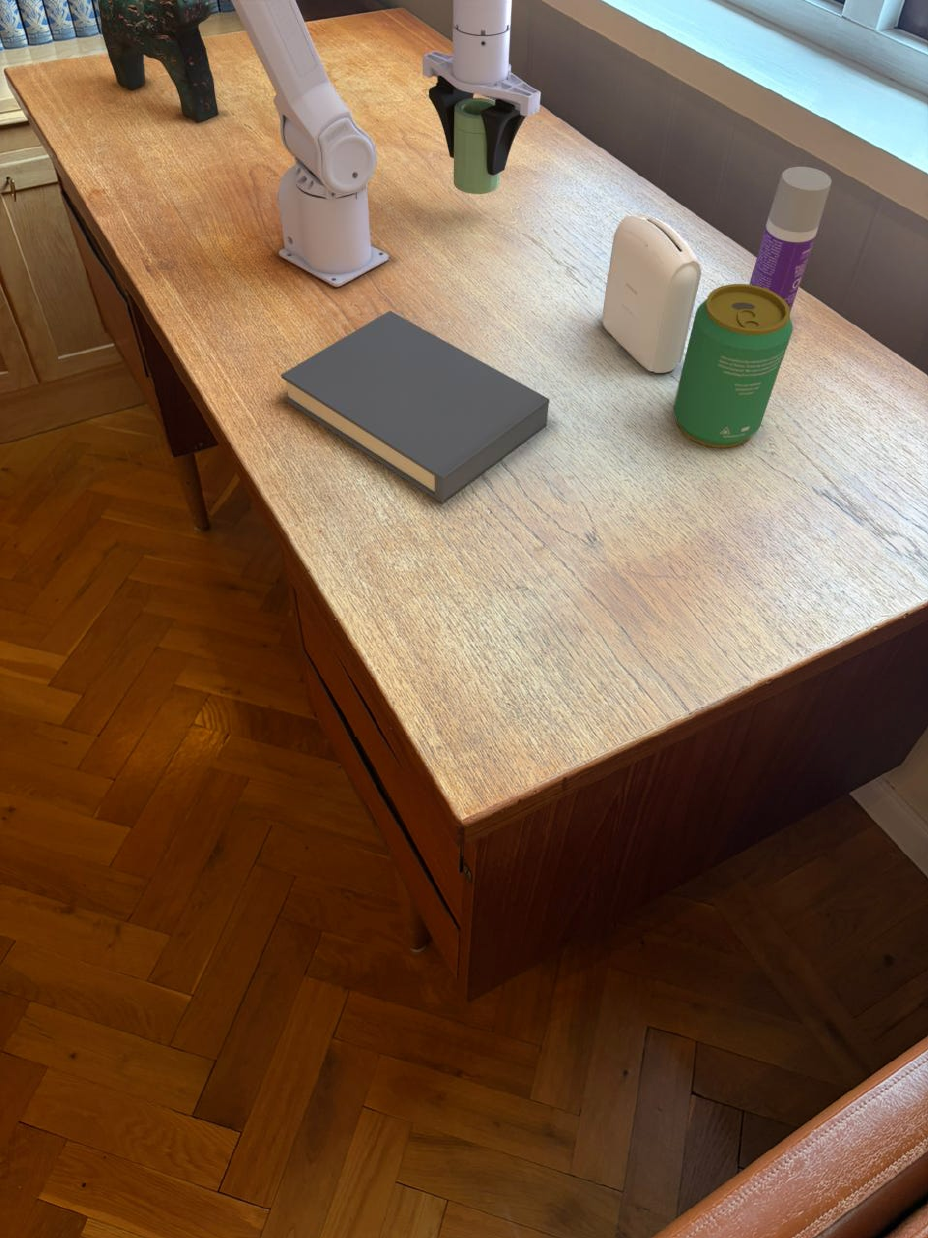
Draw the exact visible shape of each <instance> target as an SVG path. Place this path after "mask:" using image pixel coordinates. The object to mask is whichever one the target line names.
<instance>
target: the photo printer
mask: <svg viewBox="0 0 928 1238" xmlns="http://www.w3.org/2000/svg"><path fill="white" fill-rule="evenodd" d="M701 276H702V268H701V263H700V261H699V259H698V258H697V256H696V254H695V253H694V250H692V248H691V246H690V245H689V244H688V242H687V241H686V240H685V239H684V238H683V237H682V236H681V234H679V233H678V232H677V231H676V230H675V229H674V228H673V227H672V226H670V225H669V224H667V223H666V222H665V221H663V220H661V219H659V217H658V218H657V217H655V216H653V215H650V214H647V213H644V212H643V213H641V212H636V213H634V214H628V215H626V216H625V217H624V218H622V219H621V221H620V222H619V224H618V225H617V227H616V229H615V231H614V233H613V238H612V245H611V253H610V258H609V265H608V273H607V280H606V286H605V294H604V300H603V309H602V318H601V320H602V321H601V322H602V325H603V326H604V328H605V330H606V331H607V332H608V333H609V334H610V335H611V336H612V338H614V339H615V341H616V342H617V343H618V344H619V345H620V346H621V347H622V348H623V349H624V350H625V351H626V352H627V353H628V354H630V355H631V357H633V358H634V359H635V360H636V361H637V362H638V363H639V364H640V365H641V366H642V367H644V368H645V369H646V370H647V371H649V372H653V373H655V374H664V373H668V372H671V371H674V370H675V369H676V368H677V366H678V364H680V363H681V362H682V360H683V357H684V352H685V347H686V343H687V339H688V334H689V330H690V325H691V321H692V316H693V311H694V308H695V303H696V298H697V295H698V290H699V285H700V281H701Z"/></svg>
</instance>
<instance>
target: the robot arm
mask: <svg viewBox="0 0 928 1238" xmlns="http://www.w3.org/2000/svg"><path fill="white" fill-rule="evenodd" d="M452 1H453V2H452V11H453V12H452V54H448V53H444V52H441V51H437V50H433V51H431V52H429V53H426V54H423V55H422V76H424V77H426V78H428V79H429V78H433V77H435V78H437V79H436V80H437V82H435V86H432V87H430V88H429V89H428V98H429V100H430V102H431V103H432V105H433V107H434V109H435V110H436V113H437V116H438V118H439V121H440V123H441V126H442V130H443V133H444V138H445V141H446V142H445V143H446V146H447V151H448V154H449V157H450V158H452V159H454V107H455V105H456V104H457V103H458V102H460V101H462V100H465V99H470V98H474V96H475V95H480V96H483V97H484V98H486V99H490V100H493V101H495V106H494V105H493V106H490V107H488V108H486V109H484V110H482V111H481V117H482V120H483V123H484V127H485V132H486V139H487V170H488V174H490V175H492V176H494V175H496V174H498V173H500V174H501V173H502V172H504V171H505V170H506V166H507V162H508V159H509V155H510V153H511V152H510V151H511V149H512V146H513V143H514V141H515V139H516V136H517V134H518V133H519V129H520V128H521V126H522V124H523V122H524V121H525V119H526V118H528V117H530V116H533V115H535V114H536V113H539V112H540V105H541V95H542V93H541V91H540V90H538V89H536V88H534V87H531V86H530V85H529V84H527V82H525V81H523V79H521V78H519V77H518V76H517V75H515V73H513V72H512V65H511V63H509V62H510V44H511V42H510V41H511V24H512V7H513V0H452ZM230 2H231V4H232V6H233V8H234V9H235V11H236V14H237V16H238V18H239V20H240V22H241V24H242V26H243V28H244V31H245V32H246V35H247V37H248V39H249V40H250V42H251V45H252V46H253V49H254V50H255V53H256V55H257V58H258V59H259V61H260V63H261V65H262V67H263V70H264V71H265V74H266V75H267V78H268V80H269V82H270V84H271V86H272V88H273V90H274V92H275V96H273V100H272V101H273V105H274V106H275V108H276V111H277V113H278V116H279V117H278V118H279V126H280V127H279V130H280V131H279V132H280V138H281V141H282V144H283V145H284V147H285V149H286V150H287V152H289V154H291V156H293V157H294V163H295V164H294V165H292V166H290V167H289V168H288V169H287V170H286V171H285V172H284V174H283V175H282V178H281V179H280V182H279V185H278V190H277V204H278V211H279V218H280V225H281V232H282V239H283V247H284V248H281V249H280V250H279V251H278V255H279V256H280V257H281V258H283V259H285V260H286V261H288V262H289V263H291V264H294V265H295V266H297V267H299V268H300V269H302V270H303V271H306V272H307V273H310V274H311V275H313V276H315V277H317V278H318V279H319V280H322V281H324V282H325V283H327V284H329V285H331V286H332V287H335V288H339V287H342V286H343V285H345V284H347V283H349V282H351V281H353V280H354V279H356V278H358V277H360V276H362V275H363V274H365V273H367V272H369V271H370V270H372V269H374V268H376V267H378V266H379V265H382V264H383V263H385V262H387V261H388V260H389V258H390V255H389V254H388V253H387V252H384V251H382V250H380V249H378V248H377V247H374V246H372V241H371V226H370V211H369V210H370V209H369V195H368V183H369V182H370V180H371V179H372V177H373V175H374V173H375V170H376V167H377V160H378V154H377V148H376V144H375V142H374V141H373V139H372V137H371V136H370V134H369V133H367V132H366V131H365V130H364V129H362V128H360V126H359V125H358V124H357V122H356V121H355V119H354V117H353V115H352V112H351V110H350V108H349V107H348V106H347V104H346V103H345V101H344V99H343V98H342V96H341V95H340V94H339V92H338V91H337V89H336V88H335V87H334V85H333V83H332V82H331V80H330V78H329V76H328V74H327V72H326V69H325V66H324V64H323V61H322V60H321V57H320V56H319V53H318V49H317V48H316V46H315V42H314V41H313V38H312V36H311V34H310V32H309V29H308V27H307V24H306V22H305V20H304V18H303V15H302V13H301V11H300V8H299V6H298V4H297V2H296V0H230Z"/></svg>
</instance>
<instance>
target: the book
mask: <svg viewBox="0 0 928 1238" xmlns="http://www.w3.org/2000/svg"><path fill="white" fill-rule="evenodd" d="M280 376H281V377H280V378H281V379H282V380H284V381H286V382H285V383H286V389H287V390H286V391H287V396H285V397H284V401H285V402H286V403H287V404H289V405H290V406H292V407H293V408H295V409H297V410H298V411H300V412H301V413H303V414H304V415H306V416H307V417H309V418H310V419H312V420H314V421H315V422H317V423H318V424H320V425H321V426H322V427H324V428H326V429H327V430H328V431H330V432H332V433H333V434H335V435H337V436H338V437H340V438H341V439H343V440H344V441H345V442H347V443H349V444H350V445H352V446H353V447H355V448H356V449H358V450H360V451H361V452H362V453H364V454H366V455H367V456H369V457H370V458H372V459H373V460H374V461H375V462H377V463H379V464H380V465H382V466H383V467H385V468H387V469H388V470H390V471H392V472H393V473H395V474H396V475H398V476H399V477H400V478H402V479H404V480H405V481H407V482H408V483H410V484H411V485H413V486H414V487H416V488H417V489H419V490H420V491H422V492H424V493H425V494H426V495H429V496H430V497H431V498H433V499H435V500H436V501H437V502H439V503H440V504H442V505H444V504H445V503H447V502H448V501H449V500H451V499H452V498H454V496H455V495H457V494H459V493H460V492H461V491H463V490H464V489H465V488H466V487H468V486H469V485H470V484H472V483H473V482H474V481H476V480H477V479H478V478H480V477H481V476H482V475H483V474H485V473H486V472H487V471H489V470H490V469H491V468H493V467H494V466H496V464H498V463H500V461H502V460H503V459H505V458H506V457H507V456H509V455H510V454H512V452H514V451H515V450H516V449H518V448H519V447H521V446H522V445H523V444H524V443H526V442H527V441H528V440H530V439H531V438H533V436H535V435H536V434H538V433H539V432H540V431H542V430H543V429H544V428H546V427H547V426H548V415H549V414H548V413H549V406H550V400H551V399H550V398H548V397H546V396H545V395H543V394H541V393H539V392H537V391H536V390H534V389H533V388H530V387H528V386H527V385H525V384H523V383H521V382H519V381H518V380H516V379H514V378H513V377H511V376H509V375H507V374H505V373H503V372H501V371H500V370H498V369H496V368H495V367H493V366H492V365H491V366H490V365H489V364H487V363H485V362H483V361H482V360H480V359H478V358H476V357H475V356H472V354H469V353H468V352H466V351H464V350H462V349H460V348H459V347H456V346H455V345H453V344H451V343H449V341H448V342H447V341H446V340H444V339H443V338H441V337H439V336H437V335H435V334H433V333H431V332H430V331H428V330H426V329H424V328H422V327H421V326H419V325H417V324H415V323H414V322H411V321H410V320H408V319H406V318H404V317H403V316H401V315H399V314H397V313H396V312H393V311H392V310H388V311H387V312H385V313H383V314H381V315H380V316H378V317H377V318H375V319H373V320H371V321H369V322H368V323H366V324H365V325H363V326H361V327H359V328H358V329H356V330H354V331H353V332H351V333H349V334H347V335H346V336H344V337H342V338H341V339H339V340H337V341H335V342H334V343H332V344H331V345H329V346H327V347H326V348H324V349H322V350H321V351H318V352H317V353H315V354H314V355H312V356H310V357H308V358H307V359H305V360H304V361H303V360H302V362H300V363H298V364H297V365H295V366H293V367H291V368H290V369H288V370H286V371H284V372H283V373H281V375H280Z"/></svg>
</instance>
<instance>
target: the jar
mask: <svg viewBox="0 0 928 1238" xmlns="http://www.w3.org/2000/svg"><path fill="white" fill-rule="evenodd" d="M493 105H494V106H495V100H492V99H490V98H486V97H473V98H470V99H465V100H462V101H460V102H458V103H457V104H456V105H455V107H454V158H453V185H454V187H455V188H456V189H457V190H458V191H461V192H462V193H466V194H471V195H485V194H489V193H492V192H494V191H495V190H497V189H498V188H499V186H500V181H501V180H500V178H501V172H500V173H498V174H496V175H494V176H492V175H490V174H488V170H487V139H486V132H485V127H484V123H483V120H482V117H481V111H482V110H484V109H486V108H488V107H490V106H493Z"/></svg>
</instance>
